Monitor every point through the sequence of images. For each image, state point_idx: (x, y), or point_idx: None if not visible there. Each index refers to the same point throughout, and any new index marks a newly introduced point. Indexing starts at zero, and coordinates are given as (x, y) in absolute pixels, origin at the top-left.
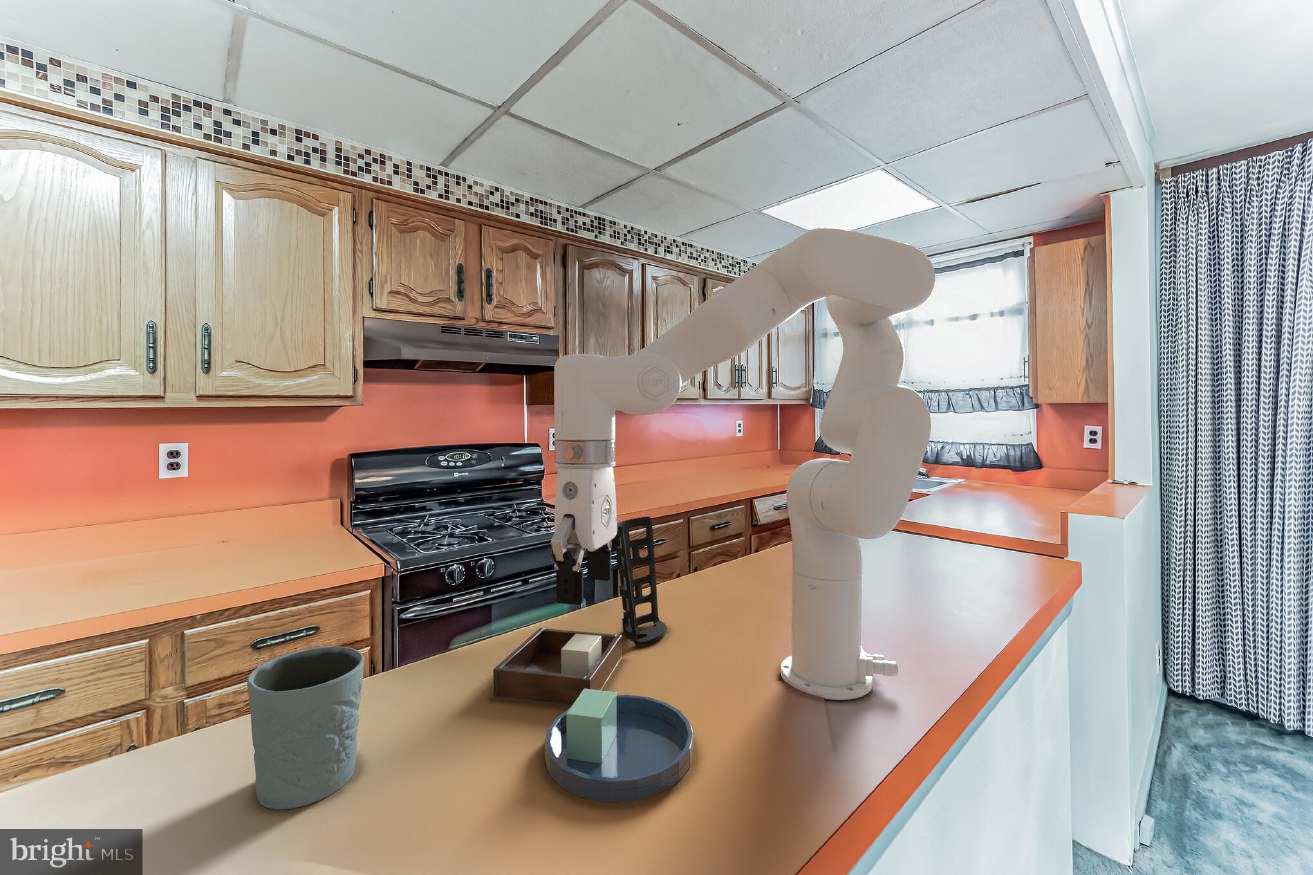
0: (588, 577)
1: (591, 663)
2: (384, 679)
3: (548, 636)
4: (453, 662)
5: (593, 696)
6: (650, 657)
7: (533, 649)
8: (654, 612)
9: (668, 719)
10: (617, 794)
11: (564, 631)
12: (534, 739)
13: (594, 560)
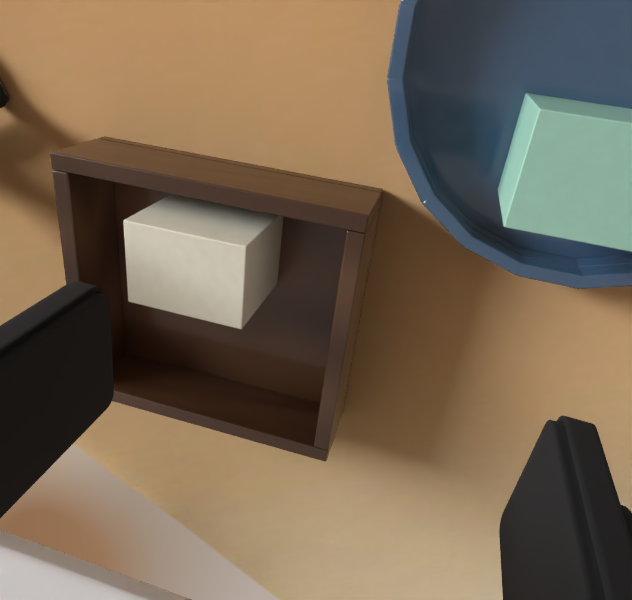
0: (110, 401)
1: (240, 224)
2: (286, 590)
3: None
4: (203, 505)
5: (564, 188)
6: (57, 43)
7: (158, 380)
8: None
9: None
10: None
11: None
12: (512, 303)
13: (32, 442)
